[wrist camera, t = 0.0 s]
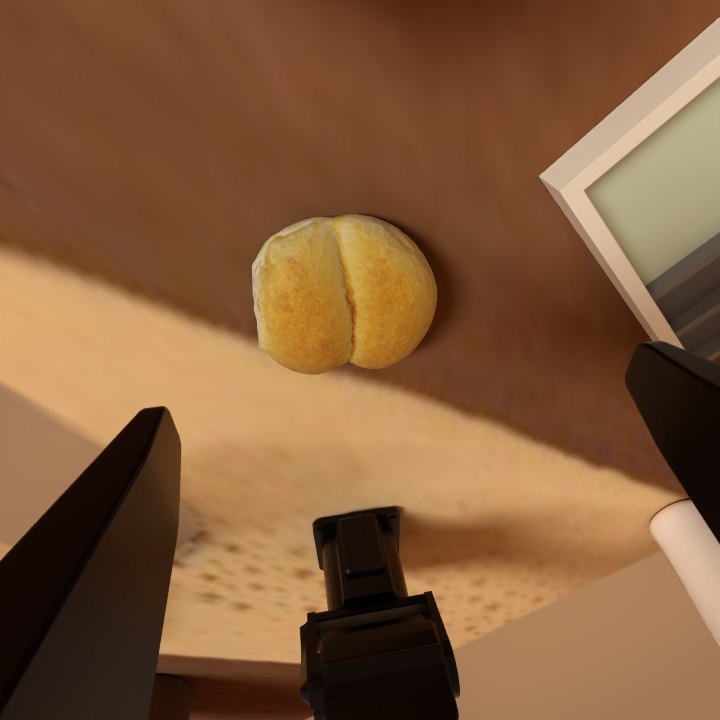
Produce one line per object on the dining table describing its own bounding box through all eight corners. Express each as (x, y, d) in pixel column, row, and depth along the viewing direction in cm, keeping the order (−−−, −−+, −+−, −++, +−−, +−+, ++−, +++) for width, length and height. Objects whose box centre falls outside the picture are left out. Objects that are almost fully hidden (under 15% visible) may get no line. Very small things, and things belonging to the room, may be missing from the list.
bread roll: (419, 346, 28) (438, 392, 25) (259, 355, 27) (259, 406, 23) (440, 204, 23) (468, 240, 20) (244, 207, 22) (241, 246, 18)
